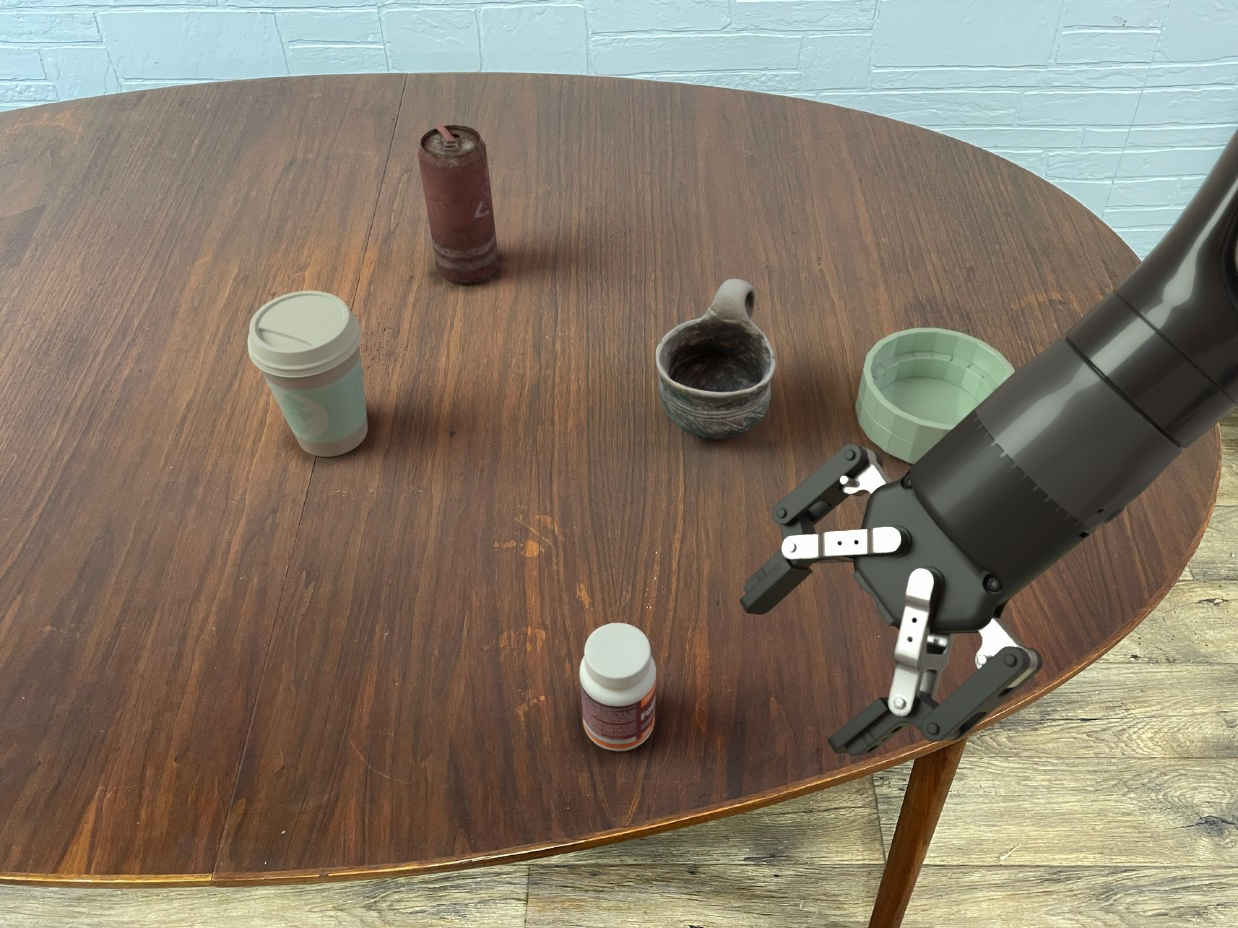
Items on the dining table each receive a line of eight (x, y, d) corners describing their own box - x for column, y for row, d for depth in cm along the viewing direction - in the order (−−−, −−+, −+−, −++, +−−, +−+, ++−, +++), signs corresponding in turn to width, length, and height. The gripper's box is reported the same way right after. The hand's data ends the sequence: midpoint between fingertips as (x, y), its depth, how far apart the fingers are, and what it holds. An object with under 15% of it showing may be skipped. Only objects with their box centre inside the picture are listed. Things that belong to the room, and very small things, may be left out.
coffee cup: (266, 423, 88) (225, 310, 79) (359, 384, 91) (330, 272, 83) (303, 485, 83) (265, 372, 74) (401, 442, 86) (375, 330, 78)
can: (474, 241, 106) (457, 113, 96) (511, 270, 103) (498, 140, 92) (424, 265, 103) (401, 136, 93) (460, 295, 100) (440, 164, 90)
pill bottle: (656, 752, 67) (658, 683, 61) (582, 753, 67) (577, 684, 61) (654, 687, 70) (656, 616, 64) (583, 688, 70) (578, 616, 64)
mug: (645, 450, 85) (646, 357, 78) (667, 352, 94) (670, 260, 87) (763, 464, 84) (775, 371, 77) (774, 363, 93) (787, 271, 85)
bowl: (983, 371, 92) (998, 327, 88) (1020, 472, 83) (1037, 428, 80) (844, 372, 92) (853, 328, 88) (867, 473, 83) (878, 429, 80)
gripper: (911, 338, 48) (683, 562, 54) (1129, 577, 40) (834, 805, 47) (974, 375, 54) (760, 574, 60) (1175, 591, 46) (906, 793, 52)
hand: (793, 675), depth 53 cm, fingers open, 8 cm apart
